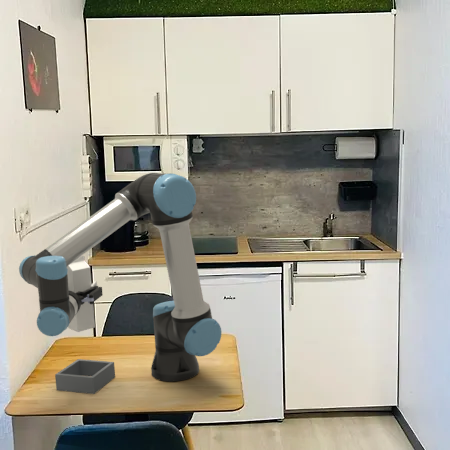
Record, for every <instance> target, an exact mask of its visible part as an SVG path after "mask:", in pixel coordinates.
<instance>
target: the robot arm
mask: <svg viewBox="0 0 450 450" xmlns="http://www.w3.org/2000/svg"><path fill="white" fill-rule="evenodd" d="M195 189H196V188H195V187H194V185H193V184H192V182H190V180H189V179H187V178H186V177H184V176H182V175H180V174H176V173H162V172H161V173H160V172H159V173H158V172H150V173H146V174H143V175H141V176H139V177H138V178H136V179H134V180H133V181H132V182H130V183H129V184H127V185H126V186H125V187H123V188H122V189H121V190H119V191H118V192H116V193H115V195H114V199H113V200H111V201H110V202H108V203H107V204H106V205H104V206H103V207H102V208H100V209H99V210H97V211H96V212H94V213H93V214H92V215H91V216H88V218H86V219H85V220H83V221H82V222H81V223H79V224H78V225H76V226H75V227H74V228H72V229H71V230H70V231H68V232H66V234H64V235H62V236H61V237H60V238H58V239H57V240H55V242H53V243H51V244H50V245H49V246H48V247H46V248H44V249H43V250H41V251H40V252H39V253H37V254H36V255H35V254H34V255H28V256H27V257H25V258H23V259H22V260H21V262H20V264H19V268H18V272H19V275H20V277H21V278H22V279H23V280H24V282H26V283H27V284H30V285H32V286H33V287H35V288H37V290H38V291H37V293H38V304H39V312H38V315H37V318H36V326H37V329H38V330H39V331H40V333H42V334H43V335H45V336H47V337H57V336H59V335H61V334H62V333H63V332H64V331H66V330H67V329H68V325H69V324H70V322H71V321H72V319H73V318H74V316H75V315H76V314H77V312H78V311H79V309H80V307H81V305H82V304H84V302H88V303H90V304H93V305H94V304H95V302H96V301H97V300H98V299H100V298H101V297H103V287H102V286H99V285H98V284H97V283H98V282H97V280H94V281H93V282H92V285H91V286H90V289H87V290H85V291H83V292H82V291H78V292H76V293H74V292H73V291H69V289H68V275H67V273H68V269H67V266H68V265H70V264H71V263H72V262H74V261H75V260H76V259H78V258H79V257H81V256H84V255H85V254H86V253H87V252H89V251H90V250H92V248H93V249H94V247H96V246H97V245H99V244H100V243H101V242H103V240H105V239H106V238H108V237H109V236H110V235H112V234H113V233H114V232H116V231H117V230H118V229H120V228H121V227H122V226H124V225H125V224H127V223H128V222H129V221H137V220H138V219H140V218H141V217H143V216H144V215H147V214H150V218H151V222H152V226H153V227H155V228H156V229H158V230H159V231H158V232H159V234H160V240H161V245H162V251H163V255H164V258H165V259H164V261H165V265H166V270H167V274H168V279H169V284H170V289H171V294H172V299H173V300H169V301H168V300H166V301H164V302H163V301H162V302H160V303H157V304H155V305H154V307H153V308H152V318H153V321H152V322H153V331H154V333H153V334H154V344H155V345H154V347H155V352H154V355H153V360H152V364H151V367H150V369H151V370H150V371H151V376H152V377H153V378H154V379H156V380H157V381H158V380H159V381H163V382H180V381H185V380H190V379H192V378H194V377H195V376H197V375H198V374H199V372H200V365H199V361H198V359H197V357H204V356H207V355H210V354H211V353H213V352H214V350H216V349H217V347H218V344H219V343H220V342H221V339H222V327H221V325H220V323H219V322H218V321H217V320H216V319H214V318H213V315H212V311H211V310H212V309H211V306H210V304H209V303H208V302H206V301H205V300H204V297H203V296H204V295H203V291H202V290H203V289H202V285H201V280H200V275H199V270H198V266H197V265H198V264H197V260H196V253H195V249H194V248H195V247H194V245H193V244H194V242H193V239H192V234H191V228H190V223H191V221H192V220H193V219H194V216H193V210H194V208H195V205H196V204H197V194H196V193H197V192H196V190H195Z"/></svg>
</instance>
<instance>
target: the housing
mask: <svg viewBox="0 0 450 450" xmlns="http://www.w3.org/2000/svg"><path fill="white" fill-rule="evenodd" d="M54 376H55V387H56V391H59V392H60V391H62V392H70V393H82V394H90V395H91V394H92V395H95V394H96V393H97V392H98V391H100V390H101V389H103V388H104V387H105V386H107V385H108V384H109V383H110V382H111V381H112V380H113V379H115V378H116V367H115V362H114V361H106V360H105V361H104V360H94V359H81V358H78V359H76V360H75V361H73V362H71V363H70V364H69V365H66V367H64V368H63V369H61V370H59V371H58V372H57V373H55V374H54Z"/></svg>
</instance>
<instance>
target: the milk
mask: <svg viewBox="0 0 450 450" xmlns="http://www.w3.org/2000/svg"><path fill="white" fill-rule="evenodd" d="M67 269H68V273H67V275H68V289H69V291H73V292H74V293H76V292H78V291H82V292H83V291H85V290H87V289H90V286H91V285H92V284H93V282H92V273H91V266H90V265H89V264H88V263H87V262H86V260H85V256H84V255H82V256H81V257H79V258H78V259H76V260H75V261H74V262H72V263H71V264H70V265H68V266H67ZM94 311H95V309H94V304H90V303H88V302H84V304H82V305H81V307H80V309H79V311H78V312H77V314H76V315H75V316H74V318H73V319H72V321H71V322H70V324H69V325H68V327H67V329H69V330H72V331H75V332H77V333H80V332H83V331H86V330H91V329H94V328H96V323H95V312H94Z"/></svg>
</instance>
